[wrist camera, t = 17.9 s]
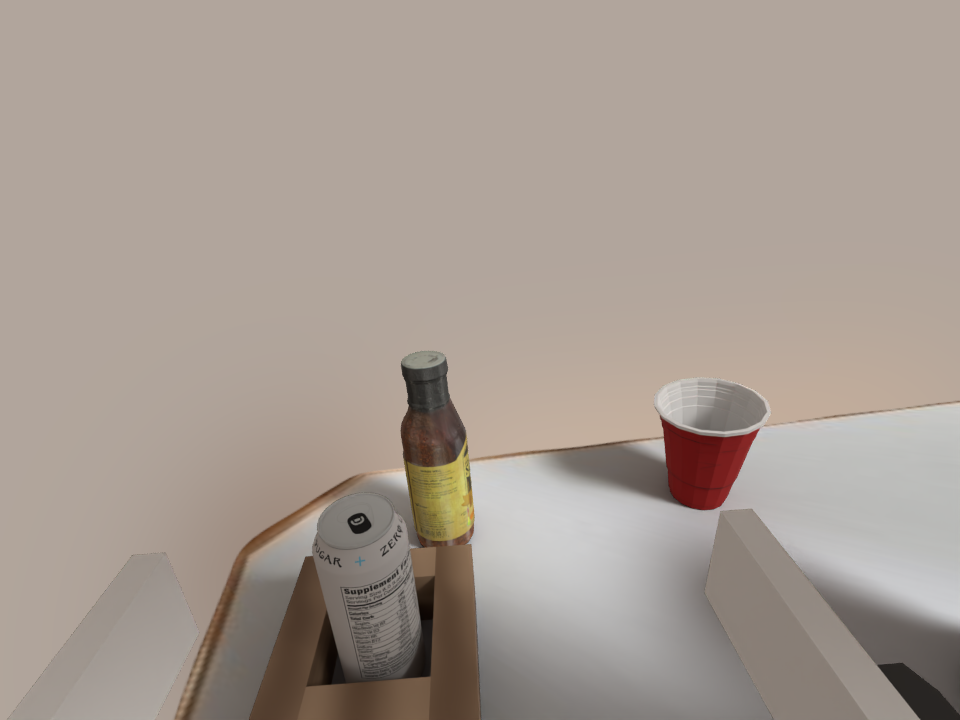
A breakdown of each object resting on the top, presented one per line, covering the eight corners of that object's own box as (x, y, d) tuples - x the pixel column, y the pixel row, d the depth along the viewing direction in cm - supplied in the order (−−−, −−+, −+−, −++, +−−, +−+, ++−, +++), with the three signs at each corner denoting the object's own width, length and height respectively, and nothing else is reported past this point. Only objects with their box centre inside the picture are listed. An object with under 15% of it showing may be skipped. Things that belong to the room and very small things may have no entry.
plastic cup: (626, 473, 59) (634, 384, 54) (705, 456, 61) (720, 369, 56) (680, 538, 49) (697, 437, 44) (773, 516, 51) (798, 417, 46)
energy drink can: (406, 620, 41) (382, 475, 35) (440, 680, 36) (420, 525, 30) (335, 660, 38) (296, 509, 32) (363, 730, 34) (322, 571, 27)
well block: (475, 594, 44) (471, 544, 42) (484, 779, 32) (479, 723, 29) (318, 606, 44) (305, 556, 41) (264, 798, 31) (240, 743, 29)
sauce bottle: (486, 539, 50) (476, 363, 42) (431, 566, 47) (408, 383, 39) (456, 502, 55) (441, 340, 47) (404, 525, 53) (379, 356, 44)
